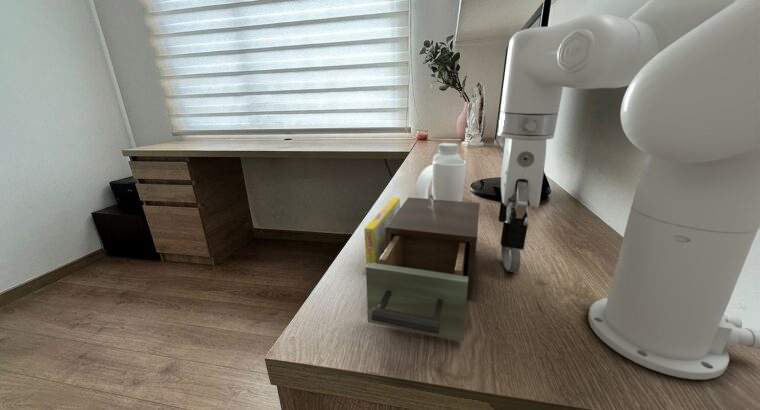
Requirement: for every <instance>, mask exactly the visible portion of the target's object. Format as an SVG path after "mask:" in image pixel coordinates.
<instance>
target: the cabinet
mask: <svg viewBox="0 0 760 410" xmlns="http://www.w3.org/2000/svg"><path fill="white" fill-rule="evenodd" d="M479 216H480V202H471V201H462V202H460V201H448V200H435V199H433V198H428V199H422V198H417V197H410V196H409V197H407V198H406V199H405V200H404V202H403V203H402V205H400V209H399V210H398V211H397V213H396V214H395V215H394V217H393V218H392V219H391V221H390V222H389V223H388V225H387V226H386V227H385V240H386V249H387V247H388V246H389V244H390V242H391V241H392V239H393V238H394V236H395V235H396V234H401V235H410V236H418V237H427V238H436V239H445V240H454V241H462V242H466V255H465V268H464V276H467V277H468V289H467V300H472V298H473V287H474V276H475V265H476V254H477V244H478V232H479V231H478V230H479Z"/></svg>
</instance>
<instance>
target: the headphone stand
mask: <svg viewBox="0 0 760 410" xmlns="http://www.w3.org/2000/svg"><path fill="white" fill-rule="evenodd" d="M432 176H433V163H432V164H429V165H428V166H427V167H425V168H424V169H423V170H422V171H421V172H420V174H419V175H418V178H417V179H416V183H415V191H414V192H415V198H422V199H429V188H430V186H431V184H432Z"/></svg>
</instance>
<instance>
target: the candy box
mask: <svg viewBox="0 0 760 410" xmlns="http://www.w3.org/2000/svg"><path fill="white" fill-rule="evenodd" d="M400 208H401V201H400V197H391V198H390V200H389V201H387V203H386V204H384V206H383V207H382V208H381V210H379V211H378V213H377V214H376V215H375V216H374V217H373V218H372V220H371V221H370V222H368V224H367V225H366V226H365V227H364V230H363V233H364V244H365V245H364V246H365V260H366V266H367V265H368V264H369V262H370V263H377V264H379V259H380V258H381V256H382V255H383V253H384V252H385V250H386V240H385V227H386V226H387V225H388V223H389V222H390V221H391V219H392V218H393V217H394V215H395V214H396V213H397V211H398V210H399V209H400Z"/></svg>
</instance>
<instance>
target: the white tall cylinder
mask: <svg viewBox="0 0 760 410" xmlns="http://www.w3.org/2000/svg"><path fill="white" fill-rule="evenodd" d="M432 164H433V176H432V181H431V184H432V183H433V196H432V197H433V198H432V199H435V200H448V201H460V202H464V193H465V188H466V181H467V161H466V160H464V159H462V160H460V159H437V160H435V161H434V162H433V161H432Z"/></svg>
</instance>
